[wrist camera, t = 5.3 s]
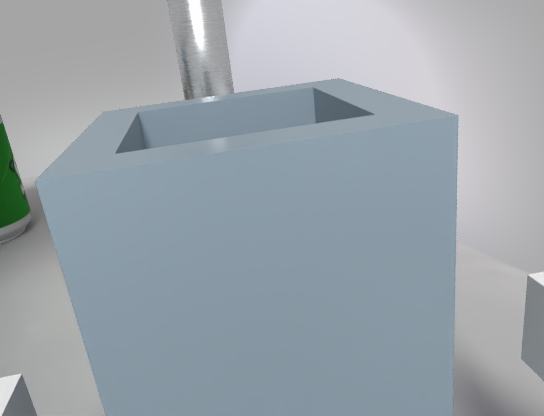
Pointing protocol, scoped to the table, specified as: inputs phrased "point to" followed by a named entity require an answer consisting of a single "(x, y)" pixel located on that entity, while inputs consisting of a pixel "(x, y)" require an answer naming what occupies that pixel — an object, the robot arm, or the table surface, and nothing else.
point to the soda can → (11, 194)
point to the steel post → (201, 47)
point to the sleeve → (263, 253)
